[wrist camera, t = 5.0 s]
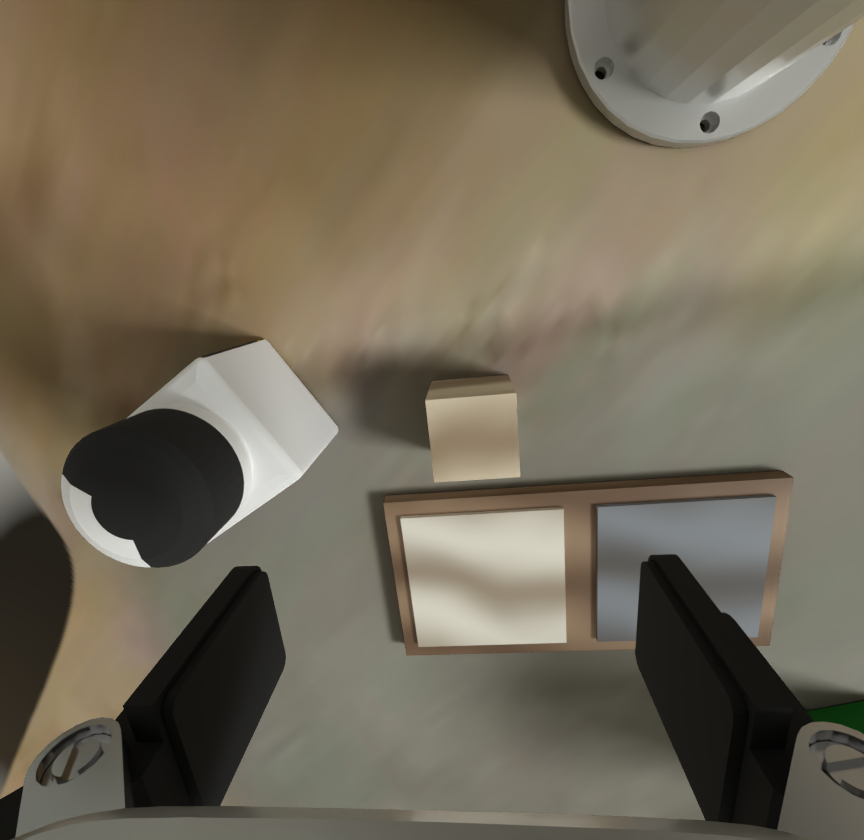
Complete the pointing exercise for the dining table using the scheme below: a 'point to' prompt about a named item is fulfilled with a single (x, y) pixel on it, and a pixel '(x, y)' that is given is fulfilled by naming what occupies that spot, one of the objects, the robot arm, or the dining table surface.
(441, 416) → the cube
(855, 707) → the fresh milk carton
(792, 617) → the dining table surface
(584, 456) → the dining table surface
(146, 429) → the medicine bottle
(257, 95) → the dining table surface
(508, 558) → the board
